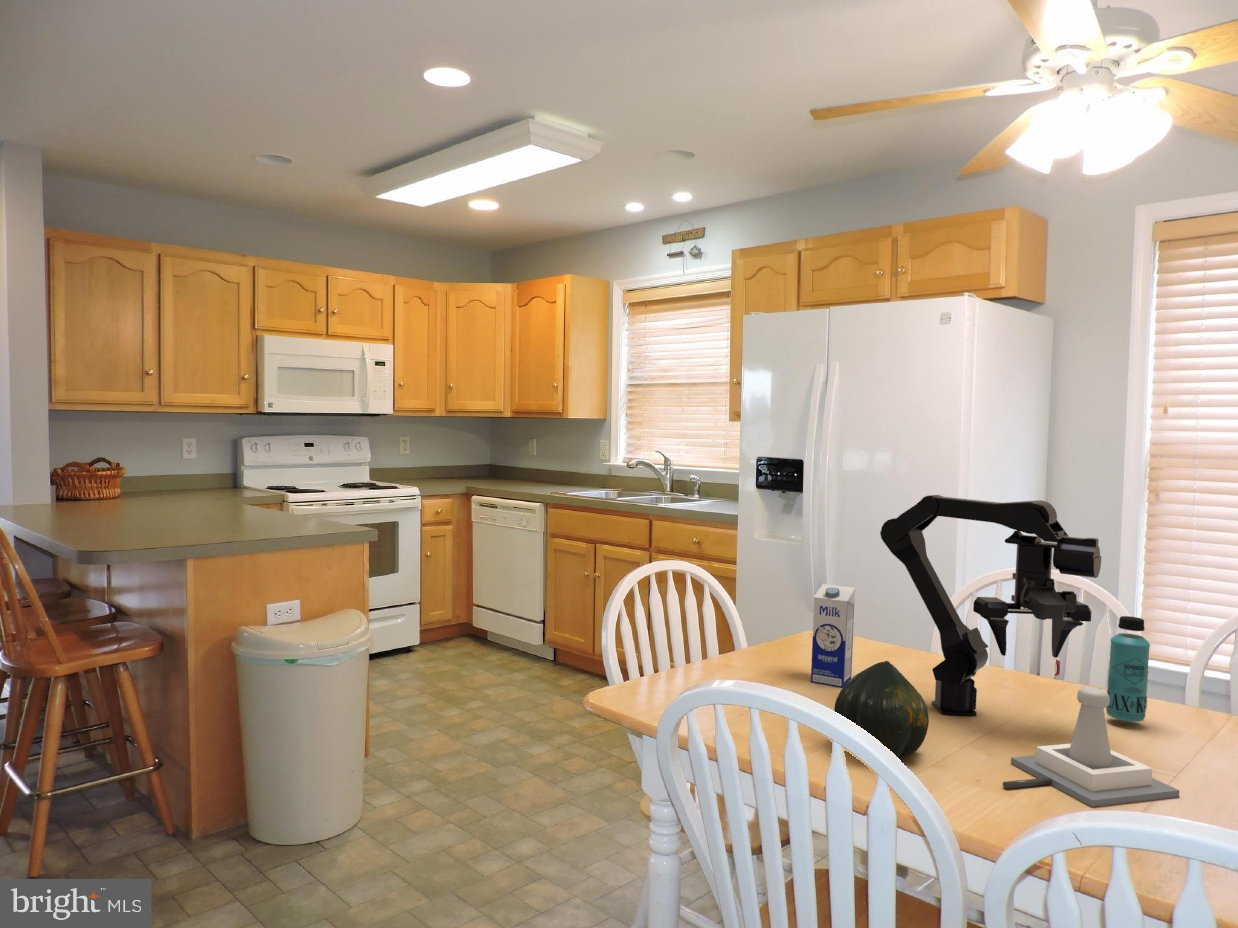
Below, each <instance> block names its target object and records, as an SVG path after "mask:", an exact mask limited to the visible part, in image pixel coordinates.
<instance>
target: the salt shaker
mask: <svg viewBox="0 0 1238 928" xmlns="http://www.w3.org/2000/svg"><path fill="white" fill-rule="evenodd" d="M1076 698H1077V702H1078V703H1079V704H1080V708H1079V711H1078V716H1077V720H1076V723H1075V727H1074V730H1073V735H1072V738H1071V742H1070V744H1071V745H1070V749H1069V758H1070V759H1072V760H1074V761H1076V762H1078V763H1080V764H1082V765H1084V766H1086V767H1088V768H1091V769H1093V770H1094V769H1104V768H1109V767H1110V765H1111V763H1112V758H1111V752H1110V750H1111V746H1110V740H1109V736H1108V734H1109V733H1108V727H1107V722H1106V715H1105V714H1106V713H1105V709H1106V707H1108V705H1109V701H1110V699H1109V695H1108V694H1107V691H1105V690H1103V689H1101V688H1098V687H1092V686H1091V687H1090V686H1085V687H1081V688H1079V689H1078V691H1077V694H1076Z"/></svg>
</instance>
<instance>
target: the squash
mask: <svg viewBox="0 0 1238 928" xmlns="http://www.w3.org/2000/svg"><path fill="white" fill-rule="evenodd" d="M834 703H835V704H834V710H833V711H835V712H837V713H839V714H841V715H842V716H844V717H846V718H847V719H849V720H851V721H852V722H854V723H856V725H858V726H860V727H861V728H863V729H864V730H866V731H867V732H868V733H870V734H871V735H872V736H874V737H875V738H876V739H878V740H879V741H880V742H881V743H882V744H883V745H884V746H886V747H887V748H888V749H890V751H892V752H893V753H894V754H895V755H896V756H898V757H902V758H903V757H909V756H912V755H913V754H915V753H916V752H917V751H918V750H920V749H919V748H920V747H921V746H922V744H923V743H924V742H925V738H926V736H927V735H928V734H927V733H928V729H929V723H930V722H929V721H930V720H929V718H930V717H929V710H928V707H927V703H926V701H925V699H924V698H923V696H922V695H921V694H920V692H919V691H918V690H917V688H915V686H913V684H912V683H910V681H909V679H907V678H906V677H905V676H904V675H903V674H902V672H900V671H899V669H898V668H897V667H896V666H894V664H892V663H890V661H888V660H885V661H881V662H877V663H875V664H873V665H871V666H869V667H867V668H866V669H863V670H861V671H860V672H859V673H856V674H855V675H854V676H853V677H851V680H849V681H848V682H847V683H846V684H845V686H844V687H843V688H841V690H840V692H839V693H838V695H837V697H836V700H835V702H834Z"/></svg>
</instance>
